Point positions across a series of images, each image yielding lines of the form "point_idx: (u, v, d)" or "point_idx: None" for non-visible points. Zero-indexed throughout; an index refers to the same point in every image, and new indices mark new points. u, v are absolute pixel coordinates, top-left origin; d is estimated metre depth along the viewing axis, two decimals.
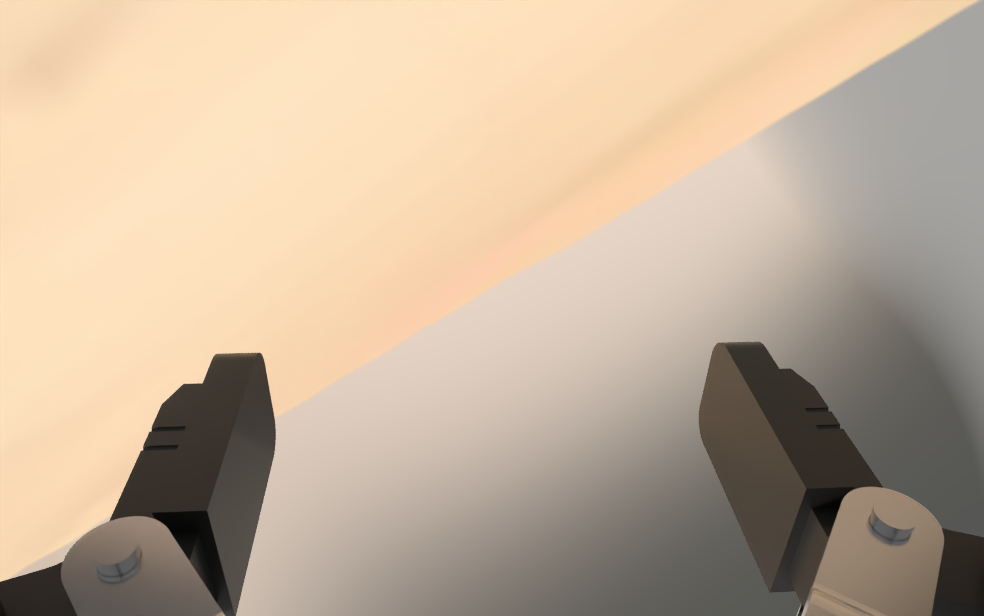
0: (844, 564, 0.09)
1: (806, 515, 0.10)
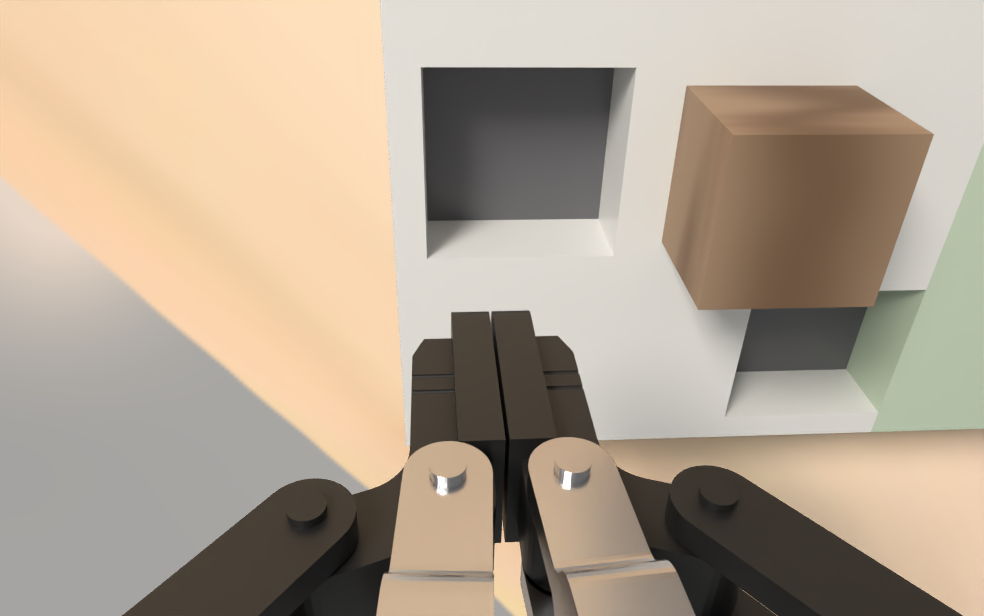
0: (564, 529, 0.09)
1: (517, 465, 0.11)
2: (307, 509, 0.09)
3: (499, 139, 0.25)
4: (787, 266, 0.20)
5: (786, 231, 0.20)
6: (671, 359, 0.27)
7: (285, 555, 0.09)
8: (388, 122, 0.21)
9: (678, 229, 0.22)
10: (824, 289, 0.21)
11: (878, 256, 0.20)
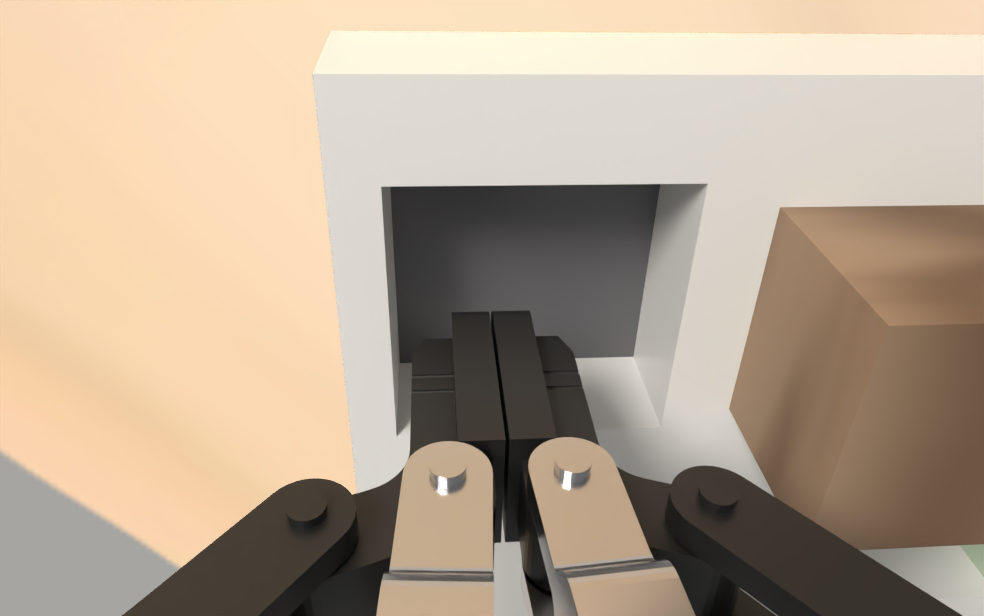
0: (564, 530, 0.09)
1: (517, 465, 0.11)
2: (307, 509, 0.09)
3: (500, 260, 0.18)
4: (945, 496, 0.13)
5: (950, 452, 0.13)
6: None
7: (285, 555, 0.09)
8: (334, 263, 0.14)
9: (761, 409, 0.15)
10: None
11: None
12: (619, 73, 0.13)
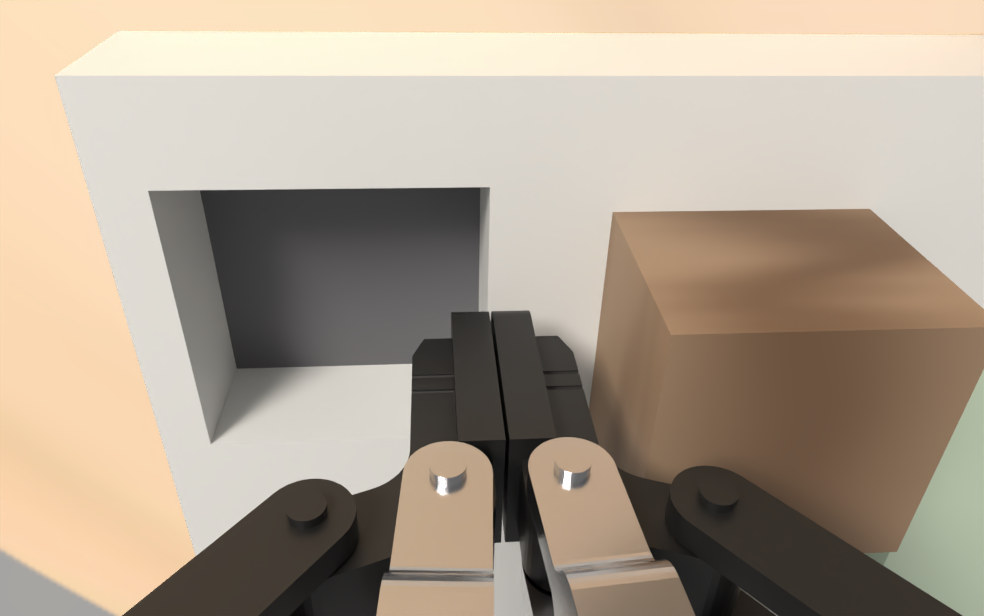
0: (564, 530, 0.09)
1: (517, 465, 0.11)
2: (307, 509, 0.09)
3: (325, 263, 0.17)
4: None
5: (762, 463, 0.12)
6: None
7: (285, 555, 0.09)
8: (113, 268, 0.14)
9: (604, 416, 0.15)
10: None
11: (906, 490, 0.13)
12: (377, 75, 0.12)
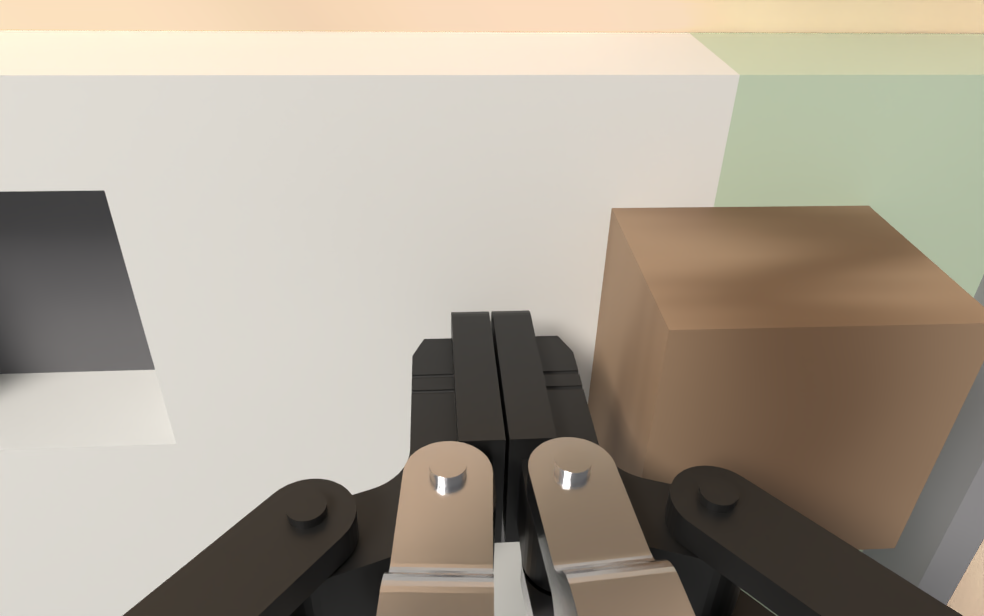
0: (564, 530, 0.09)
1: (517, 465, 0.11)
2: (307, 509, 0.09)
3: (19, 268, 0.17)
4: None
5: (759, 458, 0.12)
6: None
7: (285, 555, 0.09)
8: None
9: (603, 412, 0.15)
10: None
11: (904, 487, 0.13)
12: None
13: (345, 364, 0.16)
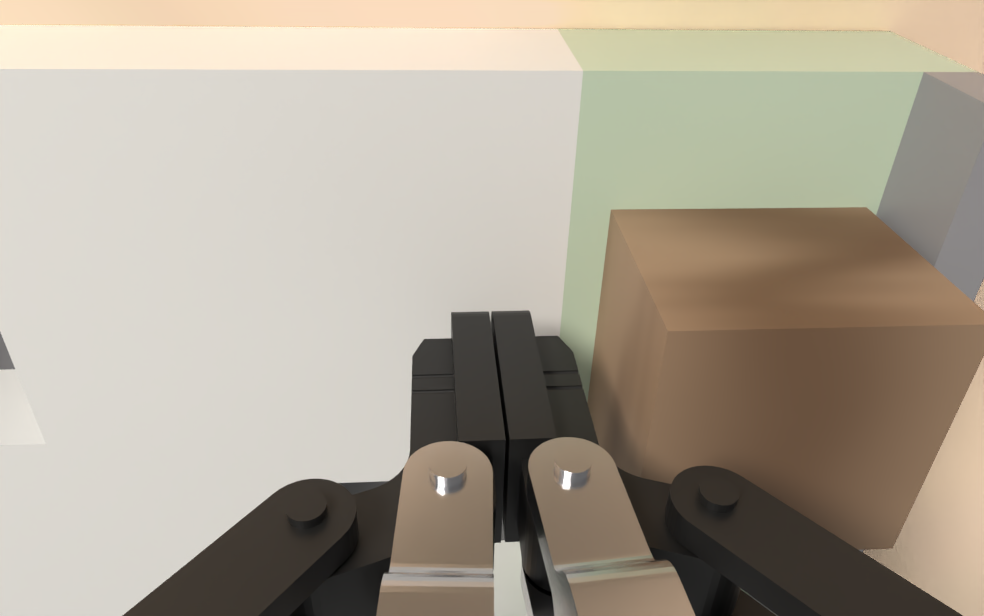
0: (564, 530, 0.09)
1: (517, 465, 0.11)
2: (306, 509, 0.09)
3: None
4: None
5: (758, 459, 0.12)
6: None
7: (285, 555, 0.09)
8: None
9: (602, 413, 0.15)
10: None
11: (902, 487, 0.13)
12: None
13: (210, 363, 0.15)
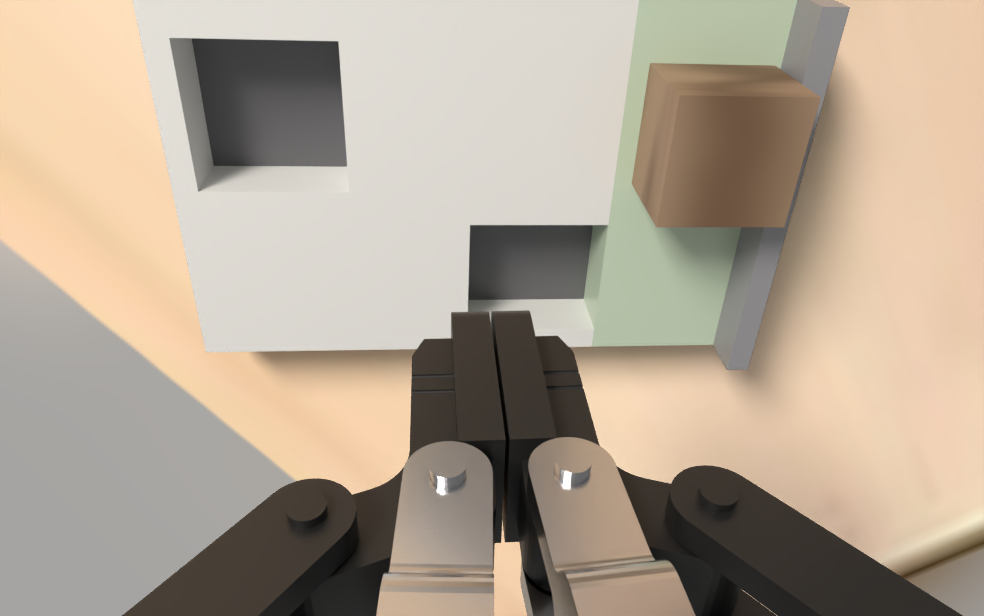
0: (564, 530, 0.09)
1: (517, 465, 0.11)
2: (307, 509, 0.09)
3: (262, 99, 0.31)
4: (720, 194, 0.28)
5: (719, 168, 0.27)
6: (413, 280, 0.33)
7: (285, 555, 0.09)
8: (150, 80, 0.28)
9: (643, 171, 0.30)
10: (748, 213, 0.28)
11: (786, 188, 0.28)
12: None
13: (442, 144, 0.30)
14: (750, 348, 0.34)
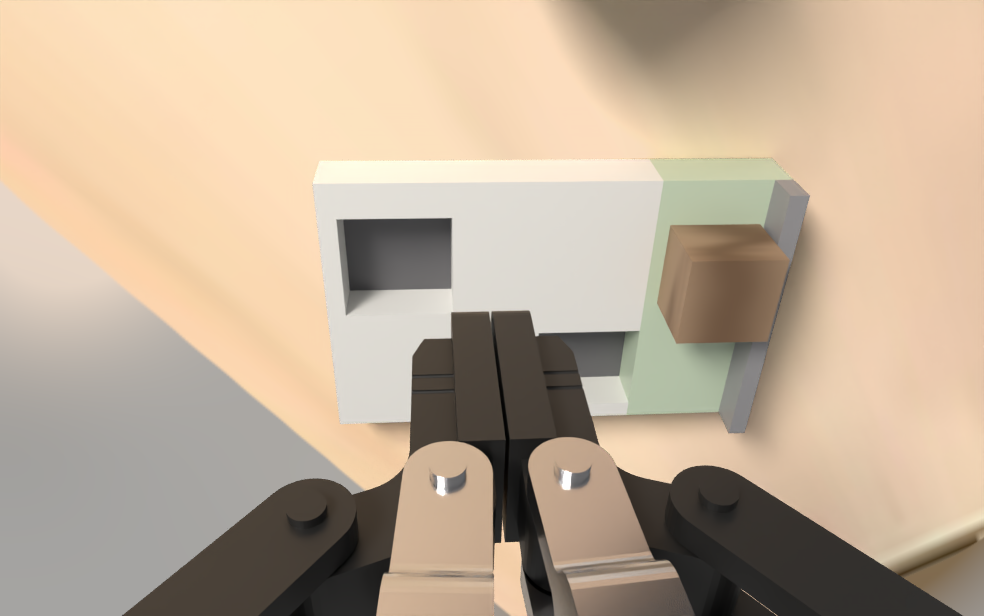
0: (564, 530, 0.09)
1: (517, 465, 0.11)
2: (307, 509, 0.09)
3: (388, 246, 0.43)
4: (721, 321, 0.39)
5: (720, 305, 0.39)
6: None
7: (285, 555, 0.09)
8: (320, 246, 0.40)
9: (666, 298, 0.42)
10: (741, 333, 0.40)
11: (767, 316, 0.39)
12: (414, 182, 0.38)
13: (521, 281, 0.42)
14: (746, 418, 0.46)
